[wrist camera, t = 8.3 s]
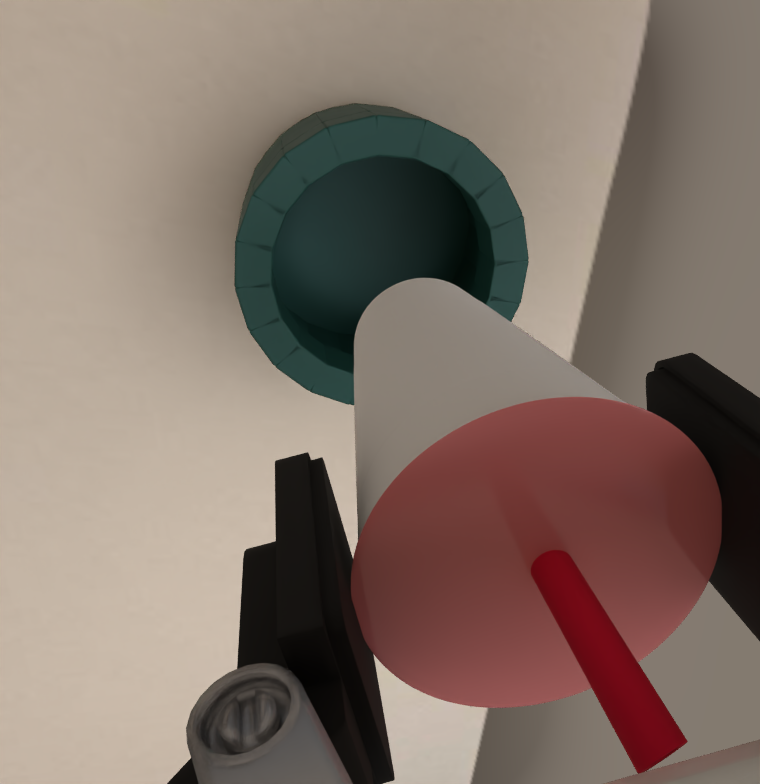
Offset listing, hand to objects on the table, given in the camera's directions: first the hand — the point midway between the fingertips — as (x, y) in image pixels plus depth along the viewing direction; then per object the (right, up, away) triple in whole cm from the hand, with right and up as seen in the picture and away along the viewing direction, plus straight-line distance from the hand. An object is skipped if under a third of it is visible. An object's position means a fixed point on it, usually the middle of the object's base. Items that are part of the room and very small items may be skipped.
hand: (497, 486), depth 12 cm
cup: (-1, +3, +6) cm, 7 cm away
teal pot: (-3, +8, +18) cm, 20 cm away
